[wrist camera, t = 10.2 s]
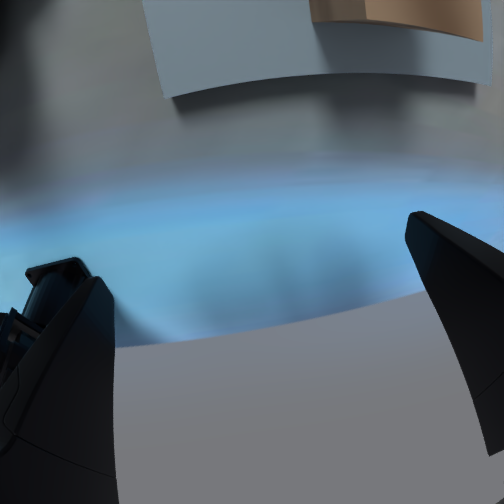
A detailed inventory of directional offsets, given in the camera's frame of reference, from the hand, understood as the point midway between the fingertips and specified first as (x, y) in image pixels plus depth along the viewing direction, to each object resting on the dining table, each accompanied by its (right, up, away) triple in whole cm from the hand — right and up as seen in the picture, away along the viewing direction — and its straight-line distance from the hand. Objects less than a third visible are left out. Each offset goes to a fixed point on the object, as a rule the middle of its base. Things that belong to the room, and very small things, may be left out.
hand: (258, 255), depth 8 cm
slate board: (+5, +16, +3) cm, 17 cm away
